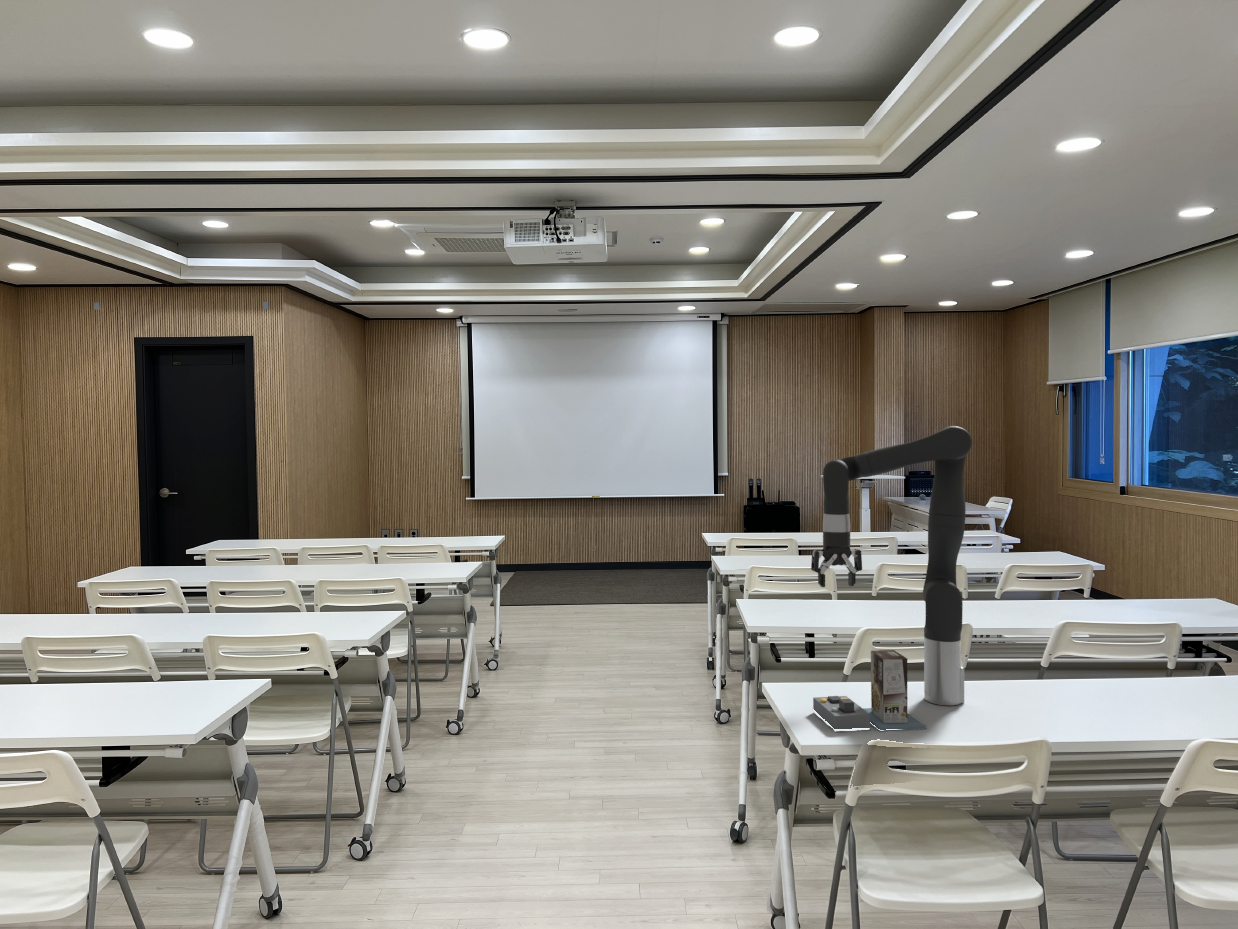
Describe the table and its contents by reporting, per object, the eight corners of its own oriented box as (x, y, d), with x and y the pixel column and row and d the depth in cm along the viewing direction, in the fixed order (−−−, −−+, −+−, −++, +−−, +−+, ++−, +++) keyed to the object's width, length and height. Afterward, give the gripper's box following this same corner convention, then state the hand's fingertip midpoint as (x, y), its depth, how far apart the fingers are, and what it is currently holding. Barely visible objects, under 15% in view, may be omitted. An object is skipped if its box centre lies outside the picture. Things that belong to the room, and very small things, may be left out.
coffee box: (908, 723, 185) (908, 658, 185) (883, 723, 185) (882, 659, 185) (894, 710, 194) (894, 649, 194) (870, 711, 194) (870, 649, 194)
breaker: (839, 710, 187) (839, 699, 187) (849, 709, 187) (848, 698, 187) (844, 714, 184) (844, 702, 184) (854, 713, 184) (854, 702, 184)
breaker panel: (813, 712, 195) (813, 695, 195) (846, 711, 197) (845, 693, 196) (835, 732, 182) (835, 713, 181) (870, 730, 183) (870, 711, 183)
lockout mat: (898, 709, 197) (898, 706, 197) (926, 728, 183) (926, 725, 183) (854, 712, 196) (854, 708, 196) (879, 731, 182) (879, 728, 182)
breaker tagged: (828, 707, 194) (827, 696, 194) (837, 706, 194) (837, 695, 194) (832, 710, 191) (832, 700, 191) (842, 710, 191) (842, 699, 191)
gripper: (854, 528, 217) (854, 583, 217) (807, 529, 215) (807, 584, 215) (866, 530, 210) (866, 588, 210) (817, 531, 208) (817, 589, 208)
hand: (836, 586), depth 213 cm, fingers open, 8 cm apart
